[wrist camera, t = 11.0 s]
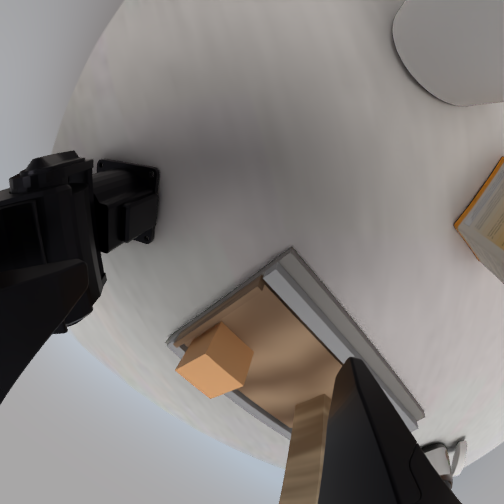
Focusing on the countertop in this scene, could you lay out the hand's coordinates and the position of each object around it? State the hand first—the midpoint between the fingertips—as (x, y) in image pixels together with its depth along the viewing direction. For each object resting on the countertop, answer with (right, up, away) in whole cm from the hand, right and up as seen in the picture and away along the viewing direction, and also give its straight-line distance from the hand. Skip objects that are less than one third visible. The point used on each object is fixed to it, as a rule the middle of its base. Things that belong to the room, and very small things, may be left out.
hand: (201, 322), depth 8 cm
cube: (-1, -6, +15) cm, 16 cm away
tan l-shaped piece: (+4, -9, +16) cm, 19 cm away
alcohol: (+15, +17, +4) cm, 23 cm away
